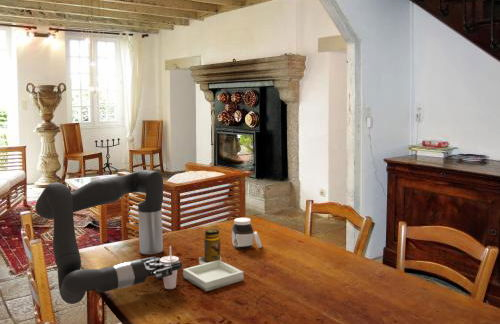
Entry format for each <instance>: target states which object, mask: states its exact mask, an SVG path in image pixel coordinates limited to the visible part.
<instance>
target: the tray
mask: <svg viewBox="0 0 500 324" xmlns="http://www.w3.org/2000/svg"><path fill="white" fill-rule="evenodd" d="M182 275H183V278H184V279H185V280H187V281H188V282H189V283H192V284H193V285H195V286H196V287H199V288H200V289H201V290H203V291H204V292H208V291H213V290H215V289H219V288H222V287H225V286H229V285H233V284H236V283H238V282H243V281H244V271H243V270H241V269H239V268H237V267H234V266H233V265H230V264H229V263H226V262H224V261H222V259H221V260H216V261H213V262H209V263H205V264H198V265H194V266H190V267H187V268H183V269H182Z"/></svg>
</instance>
